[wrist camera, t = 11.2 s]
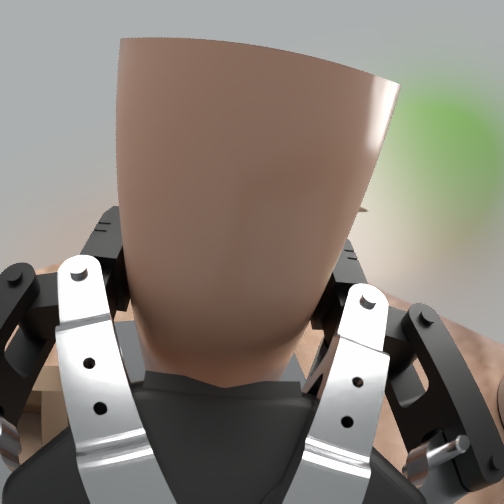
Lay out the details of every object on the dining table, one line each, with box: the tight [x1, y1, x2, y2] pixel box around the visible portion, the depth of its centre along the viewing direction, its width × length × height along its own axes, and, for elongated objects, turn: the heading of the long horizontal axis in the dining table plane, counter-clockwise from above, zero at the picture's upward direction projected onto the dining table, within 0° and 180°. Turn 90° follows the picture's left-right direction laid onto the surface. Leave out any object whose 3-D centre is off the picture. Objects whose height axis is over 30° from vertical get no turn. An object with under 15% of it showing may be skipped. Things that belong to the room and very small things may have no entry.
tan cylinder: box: [116, 38, 401, 388], centre depth 11 cm, size 8×6×16 cm
